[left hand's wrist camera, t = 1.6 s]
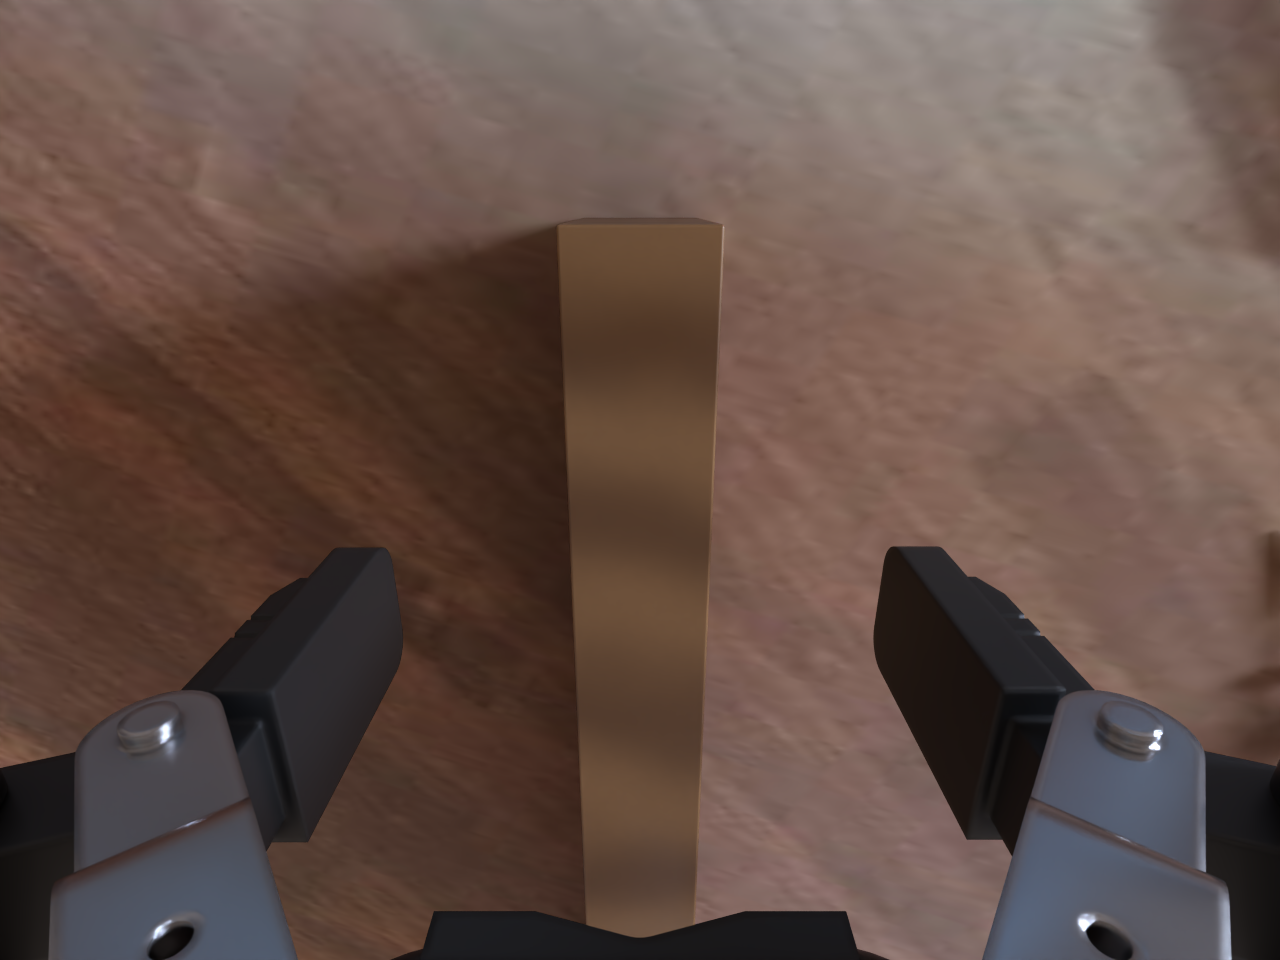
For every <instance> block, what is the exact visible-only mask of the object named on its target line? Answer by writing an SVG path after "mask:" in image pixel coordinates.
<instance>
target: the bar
mask: <svg viewBox="0 0 1280 960" xmlns="http://www.w3.org/2000/svg"><path fill="white" fill-rule="evenodd" d="M724 232H725V227H724V225H722V224H719V223H715V222H711V221H707V220H703V219H699V218H582V219H578V220H574V221H570V222H566V223H562V224H559V225H557V226H556V239H557V263H558V286H559V310H560V333H561V356H562V380H563V403H564V427H565V450H566V473H567V497H568V520H569V544H570V567H571V590H572V614H573V637H574V661H575V684H576V707H577V731H578V754H579V778H580V801H581V825H582V848H583V871H584V895H585V918H586V925H588V926H592V927H596V928H600V929H604V930H607V931H611V932H615V933H619V934H622V935H626V936H631V937H649V936H654V935H658V934H661V933H665V932H669V931H673V930H676V929H680V928H684V927H688V926H692V925H695V907H696V884H697V860H698V837H699V814H700V791H701V767H702V744H703V721H704V698H705V674H706V651H707V628H708V604H709V581H710V558H711V535H712V511H713V488H714V465H715V442H716V418H717V395H718V372H719V348H720V325H721V302H722V279H723V255H724Z"/></svg>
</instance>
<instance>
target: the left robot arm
mask: <svg viewBox="0 0 1280 960" xmlns="http://www.w3.org/2000/svg"><path fill="white" fill-rule="evenodd" d="M402 648H403V631H402V624H401V617H400V611H399V604H398V597H397V591H396V584H395V578H394V571H393V565H392V560H391V556H390V554H389V552H388V550H387V549H386V548H335V549H334V550H333V551H331V553H330V554H329V555H328V556H327V557H326V558H325V559H324V561H323V562H322V563H321V564H320V565H319V566H318V567H317V568H316V570H315V571H314V572H313V573H312V574H311V575H310V576H309V577H308V578H299V579H298V580H296V581H294V582H293V583H291V584H289V585H287V586H286V587H284V588H282V589H281V590H279V591H277V592H276V593H274V594H272V595H270V596H269V598H268V599H267V600H266V601H265V602H264V603H263V604H262V605H261V606H260V607H259V608H258V609H257V610H256V611H255V612H254V613H253V614H252V616H251V620H247V621H246V622H245V623H244V624H243V625H242V626H241V627H240V628H239V629H238V630H237V631H236V633H235V637H234V638H230V639H229V640H228V641H227V642H226V643H225V644H224V645H223V646H222V647H221V648H220V649H219V651H218V652H217V653H216V654H215V655H214V656H213V657H212V658H211V659H210V660H209V661H208V662H207V663H206V664H205V665H204V666H203V667H202V669H201V670H200V671H199V672H198V673H197V674H196V675H195V676H194V677H193V678H192V679H191V680H190V681H189V682H188V683H187V684H186V685H185V687H184V688H183V689H182V690H181V691H173V692H168V693H163V694H159V695H155V696H152V697H149V698H146V699H143V700H140V701H138V702H135V703H133V704H131V705H129V706H127V707H124V708H122V709H121V710H119V711H117V712H115V713H113V714H112V715H110V716H109V717H107V718H106V719H104V720H103V721H101V722H100V723H99V724H98V725H96V726H95V727H94V728H93V729H92V730H91V731H90V732H89V733H88V734H87V735H86V736H85V737H84V738H83V740H82V741H81V742H80V744H79V746H78V748H77V750H76V752H74V753H70V754H65V755H60V756H55V757H51V758H46V759H41V760H36V761H32V762H27V763H22V764H17V765H13V766H8V767H3V768H0V960H298V959H297V955H296V952H295V948H294V945H293V942H292V938H291V935H290V931H289V928H288V925H287V921H286V918H285V914H284V911H283V907H282V904H281V901H280V897H279V894H278V890H277V887H276V884H275V880H274V877H273V873H272V870H271V867H270V863H269V860H268V856H267V853H266V851H267V849H268V848H269V846H270V844H271V842H308V841H309V839H310V837H311V835H312V833H313V831H314V829H315V827H316V825H317V823H318V822H319V820H320V818H321V816H322V814H323V812H324V810H325V808H326V806H327V804H328V802H329V800H330V798H331V797H332V795H333V793H334V791H335V789H336V787H337V785H338V783H339V781H340V779H341V777H342V775H343V773H344V772H345V770H346V768H347V766H348V764H349V762H350V760H351V758H352V756H353V754H354V752H355V750H356V749H357V747H358V745H359V743H360V741H361V739H362V737H363V735H364V733H365V731H366V729H367V727H368V725H369V724H370V722H371V720H372V718H373V716H374V714H375V712H376V710H377V708H378V706H379V704H380V702H381V701H382V699H383V697H384V695H385V693H386V691H387V689H388V687H389V685H390V683H391V681H392V679H393V677H394V676H395V674H396V672H397V669H398V667H399V664H400V660H401V655H402ZM874 651H875V657H876V661H877V664H878V667H879V669H880V672H881V674H882V676H883V677H884V679H885V681H886V683H887V685H888V687H889V689H890V691H891V693H892V695H893V697H894V699H895V701H896V703H897V705H898V707H899V709H900V711H901V712H902V714H903V716H904V718H905V720H906V722H907V724H908V726H909V728H910V730H911V732H912V734H913V736H914V738H915V740H916V742H917V744H918V746H919V747H920V749H921V751H922V753H923V755H924V757H925V759H926V761H927V763H928V765H929V767H930V769H931V771H932V773H933V775H934V777H935V779H936V780H937V782H938V784H939V786H940V788H941V790H942V792H943V794H944V796H945V798H946V800H947V802H948V804H949V806H950V808H951V810H952V812H953V814H954V816H955V817H956V819H957V821H958V823H959V825H960V827H961V829H962V831H963V833H964V835H965V837H966V839H967V840H1003V841H1004V843H1005V845H1006V846H1007V848H1008V850H1009V852H1010V853H1011V855H1012V860H1011V863H1010V867H1009V870H1008V873H1007V877H1006V880H1005V884H1004V887H1003V890H1002V894H1001V897H1000V901H999V904H998V907H997V911H996V914H995V918H994V921H993V925H992V928H991V931H990V935H989V938H988V942H987V945H986V948H985V952H984V955H983V959H982V960H1280V760H1279V762H1278V764H1277V766H1272V765H1268V764H1263V763H1258V762H1253V761H1249V760H1244V759H1239V758H1234V757H1230V756H1225V755H1220V754H1215V753H1211V752H1206V751H1204V750H1203V748H1202V746H1201V744H1200V742H1199V741H1198V740H1197V738H1196V737H1195V736H1194V735H1193V734H1192V733H1191V732H1190V731H1189V730H1188V729H1187V728H1186V727H1185V726H1184V725H1182V724H1181V723H1180V722H1179V721H1177V720H1176V719H1174V718H1173V717H1171V716H1170V715H1168V714H1167V713H1165V712H1163V711H1161V710H1159V709H1158V708H1156V707H1153V706H1151V705H1149V704H1147V703H1145V702H1142V701H1140V700H1137V699H1134V698H1131V697H1128V696H1125V695H1121V694H1117V693H1112V692H1107V691H1099V690H1094V689H1093V688H1092V687H1091V686H1090V685H1089V683H1088V682H1087V681H1086V680H1085V679H1084V678H1083V677H1082V676H1081V675H1080V674H1079V673H1078V672H1077V671H1076V670H1075V668H1074V667H1073V666H1072V665H1071V664H1070V663H1069V662H1068V661H1067V660H1066V659H1065V658H1064V657H1063V656H1062V655H1061V653H1060V652H1059V651H1058V650H1057V649H1056V648H1055V647H1054V646H1053V645H1052V644H1051V643H1050V642H1049V641H1048V640H1047V639H1046V637H1045V636H1040V631H1039V630H1038V629H1037V628H1036V627H1035V626H1034V625H1033V624H1032V622H1031V621H1030V620H1029V619H1024V614H1023V613H1022V612H1021V611H1020V610H1019V609H1018V608H1017V606H1016V605H1015V604H1014V603H1013V602H1012V601H1011V600H1010V599H1009V598H1008V597H1007V596H1006V595H1005V594H1004V593H1002V592H1000V591H999V590H997V589H995V588H994V587H992V586H990V585H989V584H987V583H985V582H983V581H982V580H980V579H978V578H977V577H967V576H966V574H965V573H964V572H963V571H962V570H961V569H960V568H959V567H958V565H957V564H956V563H955V562H954V561H953V560H952V559H951V557H950V556H949V555H948V554H947V553H946V552H945V551H944V550H943V549H942V548H941V547H891V548H889V550H888V551H887V553H886V556H885V559H884V565H883V572H882V578H881V585H880V592H879V599H878V605H877V612H876V619H875V625H874ZM391 960H889V959H886V958H883V957H881V956H878V955H876V954H873V953H870V952H866V951H863V950H859V949H857V947H856V944H855V940H854V937H853V934H852V930H851V927H850V923H849V920H848V916H847V913H846V911H744V912H740V913H737V914H733V915H729V916H725V917H722V918H718V919H714V920H710V921H707V922H703V923H699V924H695V925H692V926H688V927H684V928H680V929H676V930H673V931H669V932H665V933H661V934H658V935H654V936H649V937H631V936H626V935H622V934H619V933H615V932H611V931H607V930H604V929H600V928H596V927H592V926H588V925H585V924H581V923H577V922H573V921H570V920H566V919H562V918H558V917H555V916H551V915H547V914H543V913H540V912H536V911H434V913H433V916H432V920H431V923H430V927H429V930H428V934H427V937H426V940H425V944H424V947H423V949H421V950H417V951H414V952H410V953H407V954H404V955H402V956H399V957H397V958H394V959H391Z"/></svg>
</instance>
